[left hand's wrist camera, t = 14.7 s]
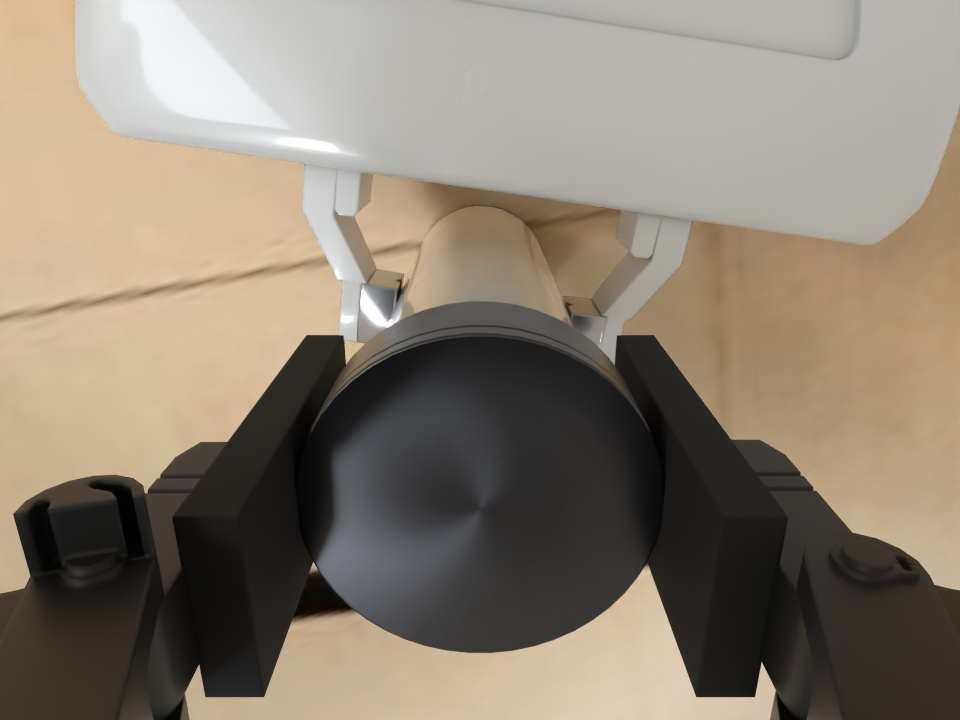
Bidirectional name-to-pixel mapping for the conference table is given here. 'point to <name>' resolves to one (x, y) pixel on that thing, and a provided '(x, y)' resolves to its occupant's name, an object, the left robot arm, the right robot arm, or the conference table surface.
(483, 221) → the jar
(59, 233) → the conference table surface
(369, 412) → the lid
